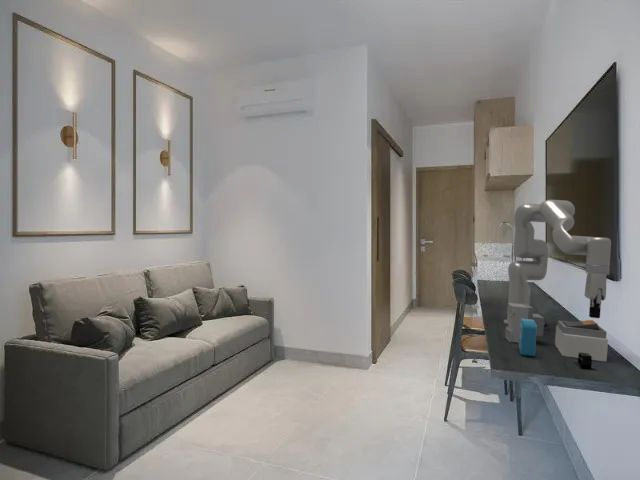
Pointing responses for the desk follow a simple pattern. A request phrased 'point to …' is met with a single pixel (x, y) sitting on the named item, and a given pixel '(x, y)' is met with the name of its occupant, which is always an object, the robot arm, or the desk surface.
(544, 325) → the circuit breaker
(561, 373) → the desk surface
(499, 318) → the desk surface
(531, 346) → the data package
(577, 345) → the switch panel
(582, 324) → the rocker
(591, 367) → the black slotted block
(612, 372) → the desk surface
